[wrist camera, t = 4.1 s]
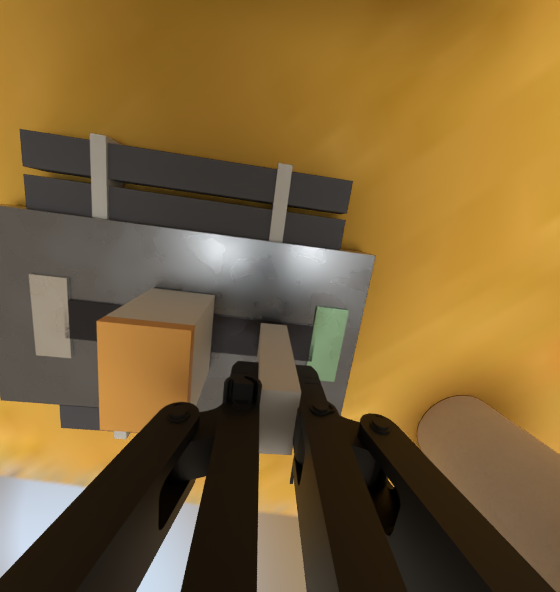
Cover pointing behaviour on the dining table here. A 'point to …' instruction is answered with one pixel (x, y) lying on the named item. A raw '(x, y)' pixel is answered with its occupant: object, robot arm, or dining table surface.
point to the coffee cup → (500, 476)
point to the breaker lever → (152, 356)
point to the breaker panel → (170, 276)
